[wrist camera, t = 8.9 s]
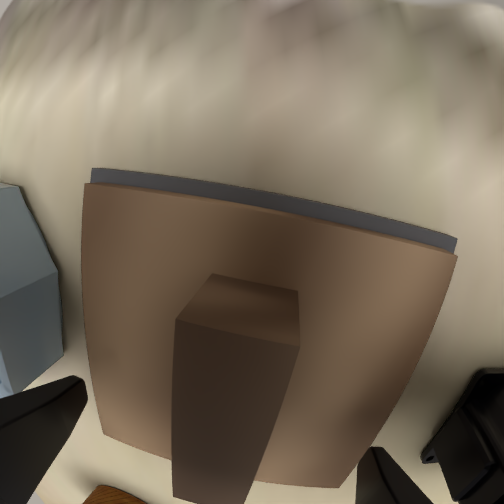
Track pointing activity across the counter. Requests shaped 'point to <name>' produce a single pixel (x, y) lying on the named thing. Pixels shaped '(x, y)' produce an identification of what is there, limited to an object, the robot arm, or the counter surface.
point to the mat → (275, 204)
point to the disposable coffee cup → (111, 497)
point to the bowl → (25, 297)
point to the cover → (248, 335)
